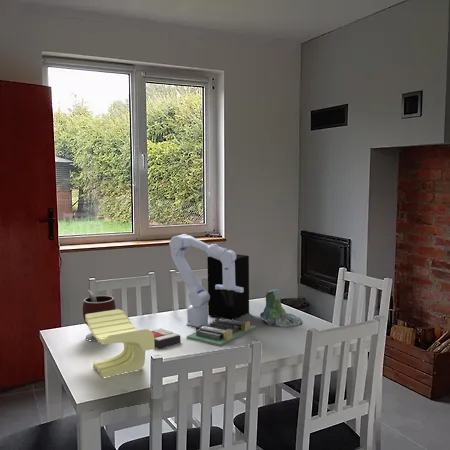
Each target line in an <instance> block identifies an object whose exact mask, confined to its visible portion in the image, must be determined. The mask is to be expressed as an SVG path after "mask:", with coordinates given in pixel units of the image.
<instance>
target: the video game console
mask: <svg viewBox="0 0 450 450" xmlns="http://www.w3.org/2000/svg"><path fill="white" fill-rule="evenodd" d="M206 260H207V292H208V293H209V295H210V300H209V301H208V316H211V317H216V318H219V317H222V318H224V319H230V320H236V319H239V318H241V317H243V316H245V315H249V314H250V256H249V255H244V254H236V260H235V285H236V286H238V287H242V288H244V292H242V293H240V292H238V293H237V294H236V296H235V299H234V303H233V306H232V307H229V306H226V303H225V300H224V297H223V295H222V294H221V291H223V290H221V289H215V285H217V284H219V285H223V270H222V262H221V261H220V260H218V259H216V258H213V257H211V256H207V258H206Z"/></svg>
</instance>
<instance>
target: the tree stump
mask: <svg viewBox="0 0 450 450" xmlns="http://www.w3.org/2000/svg"><path fill="white" fill-rule="evenodd" d="M279 291H280V289H278V288H276V289H272V290H269V291H266V293H265V307H264V308H263V311H262V312H260V314H259V316H260V318H261V320H263V321H264V322H265V323H266V324H267V325H268V326H272V327H277V328H292V327H298V326H300V325H301V324H302V323H303V320H302V319H301V318H300V317H299V316H296V315H295V314H292V313H289V312H286V310H285V309H284V307H282V302H281V300H282V297H281V294H280V292H279Z"/></svg>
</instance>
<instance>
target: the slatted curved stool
mask: <svg viewBox="0 0 450 450" xmlns="http://www.w3.org/2000/svg"><path fill="white" fill-rule="evenodd" d="M85 319H86V322H88V326H89V327H88V326H87V327H88V328H89V331H90V332H91V333H92V335H93V336H94V337H95V338H96V339H97V340H98V341H99V342H98V343H100V344H101V345H111V344H116V343H117V344H119V343H120V344H123V350H122V352H121V353H119V354H117V355H116V356H113V357H110V358H106V359H101V360H100V361H94V362H93V366H94V367H95V368H94V367H93V368H94V369H95V370H96V369H97V370H96V372H97V371H98V372H99V373H100V374H99V373H98V372H97V373H98V374H99V375H100V376H102V377H103V378H104V377H108V376H113V375H117V374H122V373H125V372H130V371H135V370H139V371H140V370H142V368H143V367H144V364H145V362H146V351H149V350H155V349H156V348H155V347H154V335H153V333H152V332H151V331H152V330H150V329H149V328H148V329H147V328H146V329H145V328H144V329H137V328H136V327H135V326H134V325H133V323H132V322H131V321H130V318H129V316H128V315H127V314H126V312H124V311H123V310H122V309H117V308H116V310H110V311H103V312H97V313H90V314H85ZM102 377H101V378H102ZM113 377H114V376H113ZM103 378H102V379H103ZM104 379H105V378H104Z"/></svg>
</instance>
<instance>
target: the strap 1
mask: <svg viewBox="0 0 450 450" xmlns="http://www.w3.org/2000/svg"><path fill="white" fill-rule="evenodd" d="M200 329H202V330H207V331H212V332H217V333H222V334H223V331H225V330H222V329H217V328H212V327H207V326H203V327H200ZM200 329H199V330H200Z"/></svg>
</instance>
